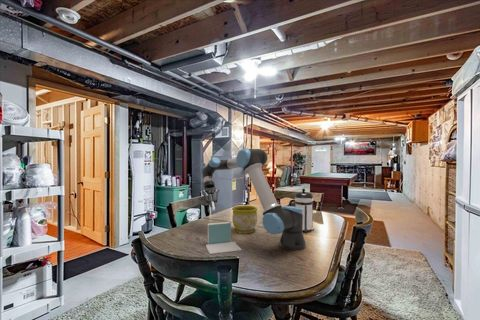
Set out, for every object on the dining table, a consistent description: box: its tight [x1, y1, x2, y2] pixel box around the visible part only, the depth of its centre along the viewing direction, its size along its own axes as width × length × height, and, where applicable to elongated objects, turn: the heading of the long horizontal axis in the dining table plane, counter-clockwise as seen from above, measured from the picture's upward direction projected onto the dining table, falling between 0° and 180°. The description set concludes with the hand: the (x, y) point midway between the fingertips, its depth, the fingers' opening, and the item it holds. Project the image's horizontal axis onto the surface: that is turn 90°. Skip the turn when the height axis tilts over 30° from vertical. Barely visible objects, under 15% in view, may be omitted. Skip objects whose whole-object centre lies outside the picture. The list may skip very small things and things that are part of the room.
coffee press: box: [288, 188, 315, 234], centre depth 177 cm, size 17×16×30 cm
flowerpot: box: [231, 205, 258, 234], centre depth 176 cm, size 18×18×16 cm
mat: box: [205, 241, 242, 255], centre depth 143 cm, size 14×18×1 cm
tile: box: [207, 221, 232, 244], centre depth 152 cm, size 3×14×12 cm, turn 108°
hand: (213, 210), depth 167 cm, fingers closed
